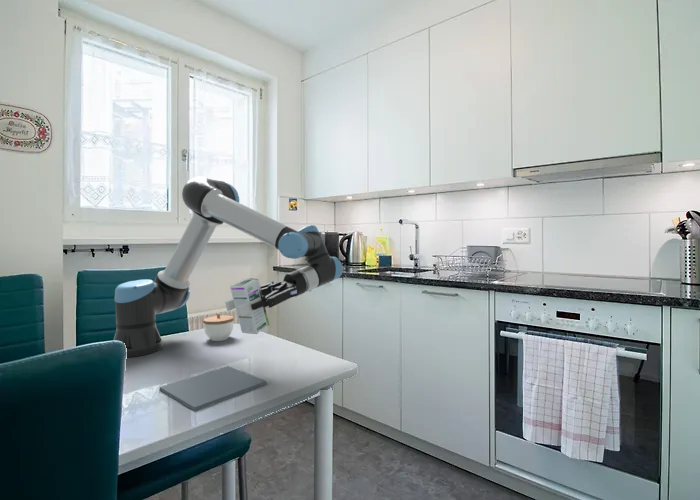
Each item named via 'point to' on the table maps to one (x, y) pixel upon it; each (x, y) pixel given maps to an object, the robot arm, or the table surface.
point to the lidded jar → (218, 327)
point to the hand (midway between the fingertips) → (233, 308)
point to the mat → (212, 387)
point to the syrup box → (247, 293)
